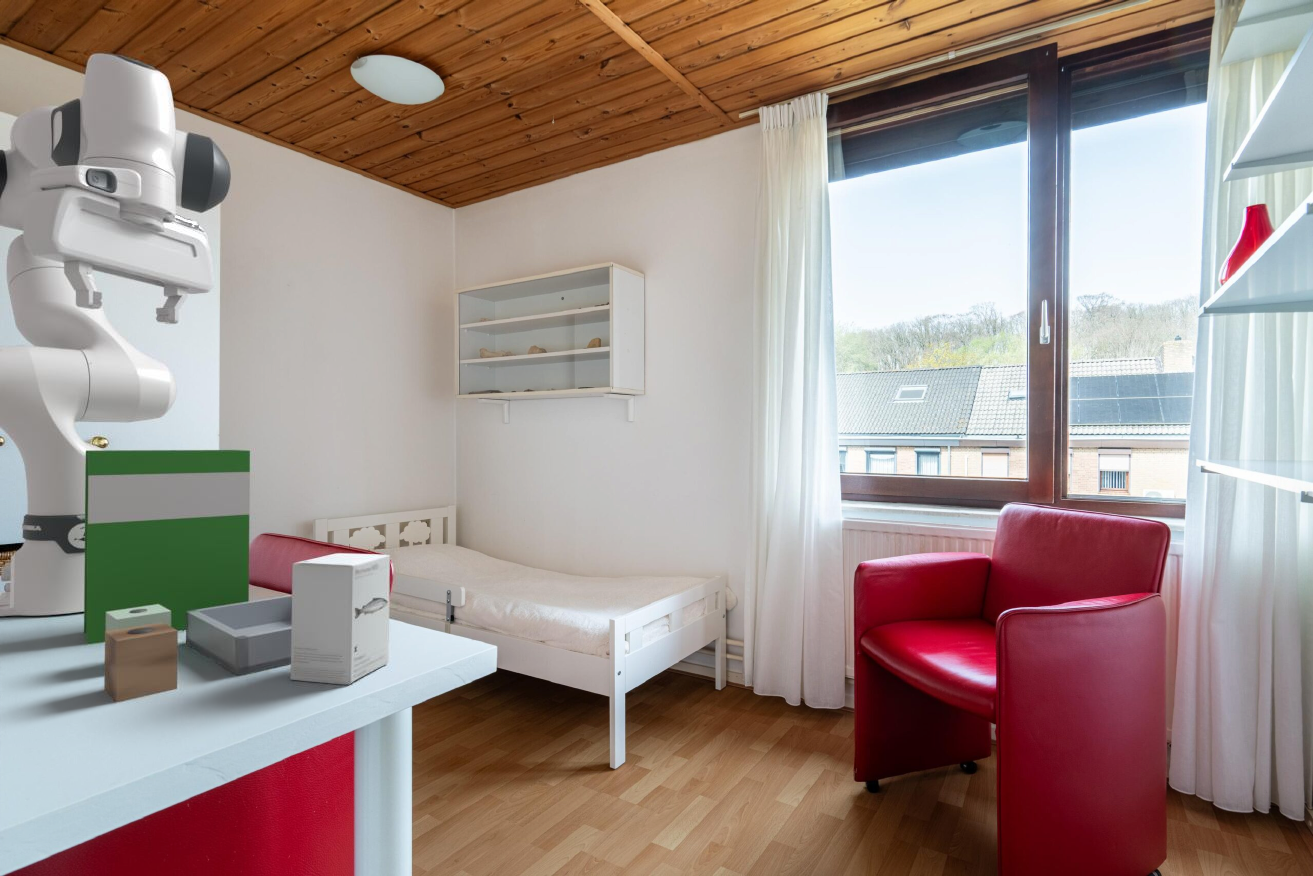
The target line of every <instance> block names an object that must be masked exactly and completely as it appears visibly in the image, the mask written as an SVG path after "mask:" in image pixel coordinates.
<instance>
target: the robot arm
mask: <svg viewBox="0 0 1313 876" xmlns="http://www.w3.org/2000/svg"><path fill="white" fill-rule="evenodd" d="M174 105H175V104H174V99H173V93H172V89H171V84H170V81H169V79H168V77H167V76H166V75H165V74H164V73H162V72H161V71H160V70H158V69H157V68H155V67H153V66H152V65H149V64H147V63H144V62H142V61H140V60H136V59H133V58H130V57H127V56H124V55H122V54H114V53H111V52H98V53H93V54H91V55H90V56H89V58H88V60H87V63H86V68H85V74H84V79H83V86H82V95H81V97H80V98H75V99H72V100H70V101H67V102H65V103H64V104H61V105H60V106H59V105H43V106H37V107H35V108H31V109H29V110H26V111H24V112H23V113H22V114H19V116H18V117H16V119H15V120H14V122H13V124H12V126H11V129H10V135H9V136H10V137H9V138H10V139H9V141H10V149H7V150H3V149H0V227H5V228H9V229H14V230H18V231H19V230H20V231H23V233H22V234H20V235H18V236H17V237H15V238H14V239H13V240H12V241H11V242H10V244H9V247H8V251H7V256H6V282H7V289H8V294H9V298H10V303H11V304H10V305H11V308H12V313H13V318H14V323H15V326H16V329H17V330H18V331H19V333H20V334H21V336H22V337H23V338H24V339H25V340H26V341H27V342H28V343H30V344H31V345H26V344H20V345H19V344H18V345H0V429H2V431H3V432H5V434H7V436H8V437H9V438H10V439H11V441H12V442H13V443H14V445H15V446H16V448H17V449H18V452H19V454H20V455H21V459H22V461H23V462H22V463H23V464H24V470H25V479H26V489H27V490H26V492H27V514H24V516H23V521H22V522H23V523H22V524H21V529H22V538H23V539H24V542H23V544H22V546H21V547H20V548H19V549H18V550H17V551H15V553H14V554H13V555H11V556H10V562H5V563H4V564H5V565H3V566H1V567H0V568H1V572H0V579H1V580H0V581H1V582H5V583H4V588H3V589H4V592H2V593H1V594H0V617H7V616H9V617H10V616H52V615H62V614H63V615H64V614H65V615H66V614H73V613H81V612H84V572H85V465H86V450H105V449H104V448H101V447H100V446H97V445H94V444H91V443H89V442H86V441H84V440H83V439H82V438H80V436H79V435H78V433H77V431H76V427H75V423H78V422H80V423H81V422H82V423H83V422H84V423H85V422H86V423H90V422H91V423H126V424H127V423H134V422H142V421H149V420H155V419H159V418H160V419H161V418H162V417H164V416H165V415H166V414H167V413H168V412H169V411H170V409H172V407H173V405H174V403H175V400H176V398H177V392H178V391H177V383H176V382H177V381H176V379H175V377H174V375H173V373H172V371H171V370H170V369H169V368H168V366H167V365H166V364H165V363H163V362H162V361H160V360H157V359H155V358H153V357H151V356H149V355H148V354H145V353H144V352H142V351H140V350H139V349H138V348H136V347H135V346H133V345H132V344H131V343H130V342H129V341H128V340H126V339H125V338H124V337H123V336H122V335H121V334H120V333H119V332H118V331H117V330H116V329H115V328H114V327H113V325H112V324H111V322H110V321H109V319H108V316H107V314H106V311H105V310H104V307H103V304H102V303H103V302H102V297H103V296H102V295H103V294H102V292H99V291H98V290H99V289H98V285H97V283H96V280H95V277H94V275H93V271H95V272H99V273H104V274H107V275H110V276H116V277H119V278H123V279H127V280H131V281H135V282H139V283H144V284H148V285H153V286H156V287H160V288H163V296H164V297H167V299H166V301H165V303H164V304H163V306H162V307H156V308H155V314H156V316H155V319H156V321H157V322H158V323H162V324H165V325H176V324H178V323H179V310H180V309H181V308H182V306H183V304H184V303H185V302H186V301H187V299H188V294H189V295H193V294H194V295H198V294H207V293H209V292H210V291H211V290H212V289H213V287H215V275H214V264H213V256H212V251H211V246H210V244H209V237H208V234H207V233H206V231H204V229H203V228H202V227H201V226H200V224H199V222H197V221H196V220H192V219H191V218H190V219H189V218H188V219H187V218H185V217H183V216H181V215H179V214H177V207H181V208H182V209H184V210H189V211H192V212H196V213H199V214H202V213H205V212H208V211H209V210H211V209H213V208H215V207H217V206H218V205H220V204H221V203H222V202H223V201H225V199H226V197H227V195H228V193H229V189H230V186H231V181H232V179H231V178H232V177H231V167H230V163H229V160H228V159H227V157H226V156H225V154H224V152H223V151H222V150H221V148H220V147H219V146H218V144H216V143H215V141H214V140H213V139H212V138H211V137H209V136H206V135H202V134H197V133H194V132H186V131H183V130H179V129H176V126H177V125H176V114H175V106H174Z"/></svg>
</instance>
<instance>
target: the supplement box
mask: <svg viewBox="0 0 1313 876" xmlns="http://www.w3.org/2000/svg"><path fill="white" fill-rule="evenodd" d="M390 557H391V555H389V554H378V553H376V554H375V553H374V554H373V553H341V552H339V553H337V552H336V553H333V554H327V555H323V556H319V557H315V558H311V559H305V560H302V561H301V560H300V561H297V562H294V563H292V571H291V574H292V577H291V579H292V581H291V595H292V628H291V664H290V680H292V681H300V682H301V681H302V682H313V683H322V684H323V683H324V684H334V685H335V684H336V685H348V686H349V685H351V684H352V683H354V682H355V681H357V680H359V679H361V678H363V677H364V676H366V675H368V674H370V673H371V672H373V671H375V670H378V669H379V668H381V667H384V666H385V665H387V664H388V663H389V653H390V652H389V651H390V650H389V648H390V647H389V643H390V639H389V638H390V577H391V576H390V572H391V571H390V570H391V567H390V563H391V561H390V560H391V558H390Z"/></svg>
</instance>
